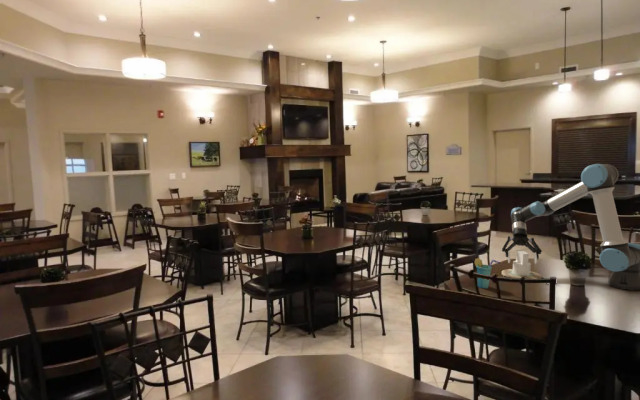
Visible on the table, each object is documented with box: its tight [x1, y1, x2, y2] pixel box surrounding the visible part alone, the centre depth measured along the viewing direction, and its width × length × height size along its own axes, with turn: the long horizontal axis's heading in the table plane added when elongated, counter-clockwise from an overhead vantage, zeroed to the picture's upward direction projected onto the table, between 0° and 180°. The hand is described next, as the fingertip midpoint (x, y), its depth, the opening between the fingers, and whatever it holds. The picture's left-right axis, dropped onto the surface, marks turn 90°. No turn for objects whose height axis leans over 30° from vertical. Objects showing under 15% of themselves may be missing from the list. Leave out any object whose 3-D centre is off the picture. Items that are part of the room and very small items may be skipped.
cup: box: [474, 257, 501, 289], centre depth 222 cm, size 14×8×15 cm, turn 41°
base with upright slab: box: [512, 249, 532, 275], centre depth 243 cm, size 9×9×12 cm
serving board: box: [501, 268, 542, 280], centre depth 244 cm, size 20×20×2 cm
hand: (522, 262), depth 241 cm, fingers open, 13 cm apart
